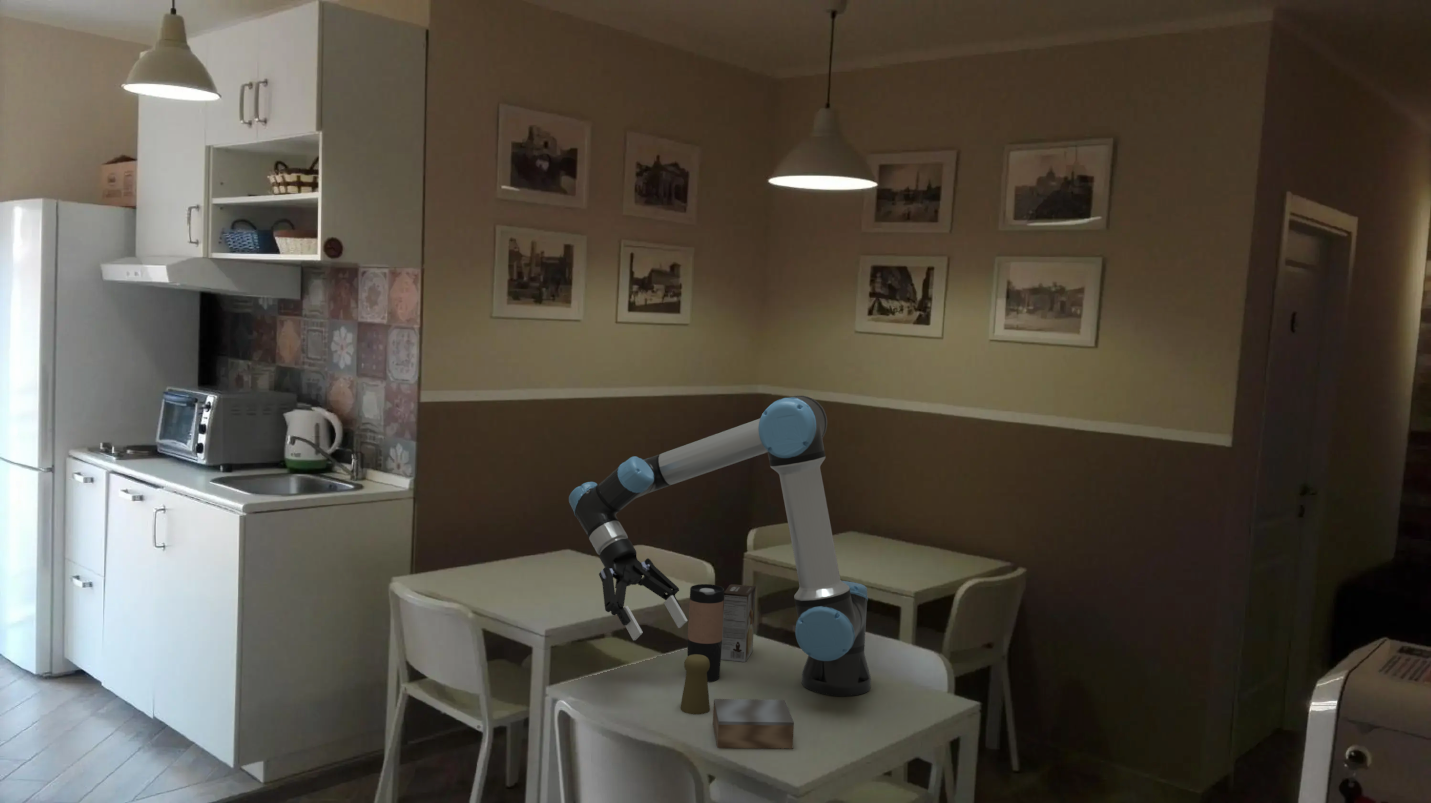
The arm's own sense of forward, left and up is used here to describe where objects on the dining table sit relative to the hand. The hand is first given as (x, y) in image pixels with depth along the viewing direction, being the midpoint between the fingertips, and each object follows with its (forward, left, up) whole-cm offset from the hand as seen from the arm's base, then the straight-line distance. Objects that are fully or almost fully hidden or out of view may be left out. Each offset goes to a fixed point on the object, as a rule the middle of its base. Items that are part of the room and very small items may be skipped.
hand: (661, 630), depth 225 cm
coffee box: (-19, -29, -14) cm, 38 cm away
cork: (-7, +7, -14) cm, 17 cm away
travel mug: (-10, -13, -14) cm, 22 cm away
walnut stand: (-17, +21, -14) cm, 31 cm away
